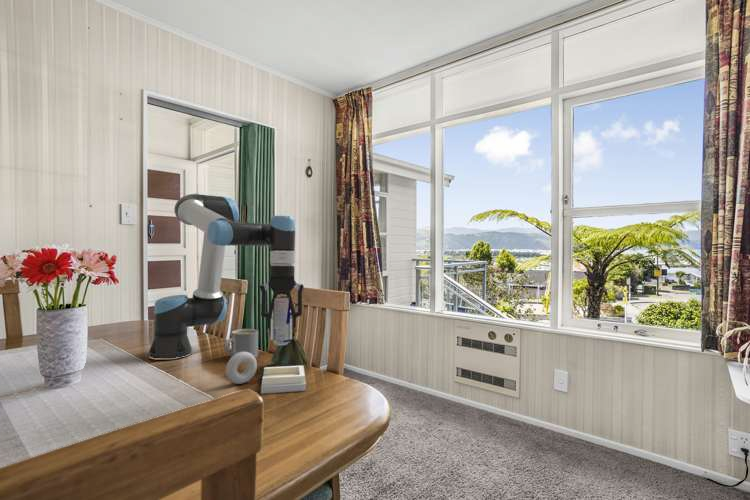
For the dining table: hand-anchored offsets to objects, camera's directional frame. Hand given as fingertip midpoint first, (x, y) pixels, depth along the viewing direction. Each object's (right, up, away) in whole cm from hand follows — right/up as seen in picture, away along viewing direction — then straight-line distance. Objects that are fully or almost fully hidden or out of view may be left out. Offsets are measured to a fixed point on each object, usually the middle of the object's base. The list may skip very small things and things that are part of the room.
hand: (281, 338), depth 122 cm
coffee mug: (-23, -14, +30) cm, 40 cm away
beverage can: (0, -2, 0) cm, 2 cm away
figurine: (-2, -15, +19) cm, 24 cm away
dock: (0, -15, +1) cm, 15 cm away
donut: (-13, -15, 0) cm, 19 cm away
